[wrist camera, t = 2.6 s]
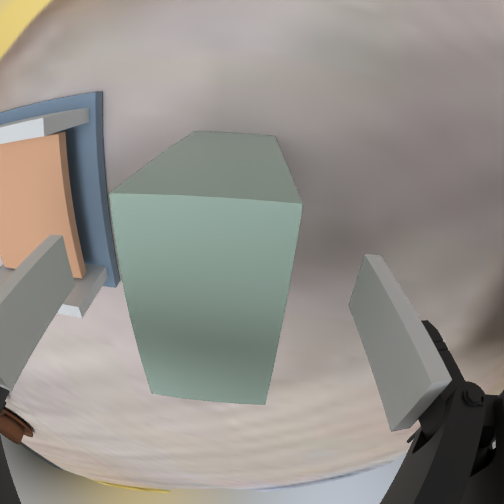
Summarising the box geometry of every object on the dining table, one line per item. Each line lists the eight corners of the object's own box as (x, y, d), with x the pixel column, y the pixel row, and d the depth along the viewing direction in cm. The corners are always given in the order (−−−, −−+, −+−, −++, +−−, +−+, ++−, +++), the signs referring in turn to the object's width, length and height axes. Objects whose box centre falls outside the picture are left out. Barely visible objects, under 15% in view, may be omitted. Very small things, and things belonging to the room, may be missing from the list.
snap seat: (65, 131, 15) (58, 133, 14) (86, 272, 20) (82, 278, 19) (-16, 146, 15) (-23, 149, 14) (9, 262, 20) (4, 266, 19)
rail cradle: (102, 91, 16) (49, 97, 11) (120, 280, 23) (91, 329, 18) (-8, 115, 16) (-58, 132, 10) (20, 267, 23) (-13, 303, 18)
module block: (274, 135, 18) (302, 203, 7) (261, 259, 22) (265, 404, 12) (194, 131, 18) (109, 193, 7) (194, 254, 22) (151, 393, 12)
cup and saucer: (-2, 410, 47) (-10, 427, 42) (-5, 397, 42) (-15, 416, 37) (34, 434, 51) (27, 452, 45) (36, 425, 46) (27, 445, 41)
